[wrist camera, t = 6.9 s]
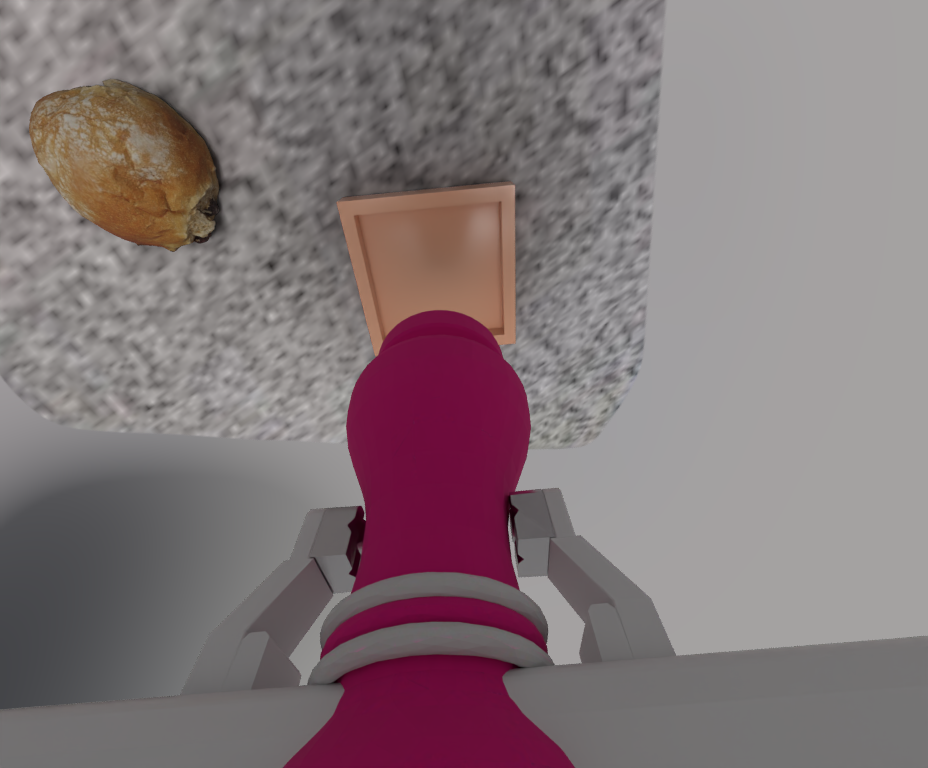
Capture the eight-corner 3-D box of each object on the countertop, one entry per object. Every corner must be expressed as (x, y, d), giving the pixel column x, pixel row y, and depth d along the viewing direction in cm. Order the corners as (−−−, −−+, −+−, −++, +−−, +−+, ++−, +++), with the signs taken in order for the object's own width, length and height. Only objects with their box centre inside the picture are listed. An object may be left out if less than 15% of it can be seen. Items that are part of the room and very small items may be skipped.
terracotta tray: (343, 197, 29) (336, 202, 27) (510, 181, 29) (515, 184, 27) (378, 344, 36) (375, 356, 34) (512, 332, 36) (515, 343, 34)
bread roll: (212, 98, 28) (103, 13, 20) (258, 236, 30) (173, 207, 22) (100, 139, 29) (-44, 74, 21) (150, 270, 31) (33, 254, 23)
